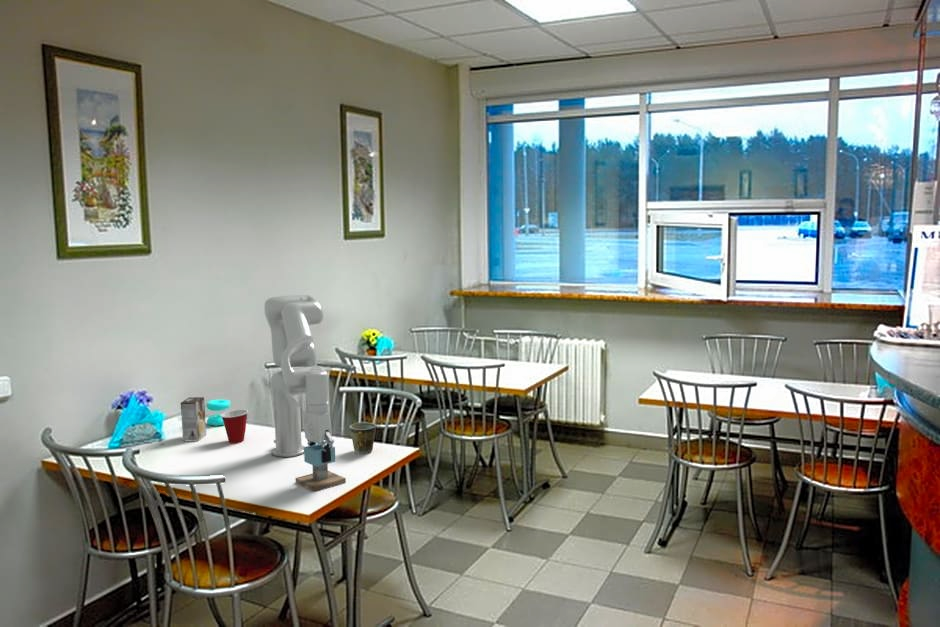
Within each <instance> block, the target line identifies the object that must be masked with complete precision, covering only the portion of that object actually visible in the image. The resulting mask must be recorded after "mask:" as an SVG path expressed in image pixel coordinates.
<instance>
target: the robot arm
mask: <svg viewBox="0 0 940 627" xmlns="http://www.w3.org/2000/svg"><path fill="white" fill-rule="evenodd" d="M263 306H264V309H263V310H264V315H265V318H266V321H267V325H268V326H269V329H270V335H271V337H270V338H271V350H272V359H273V362H274V365H275V366H276V367H279V368H280V370H279V371H276V372H275V373H274V372H273V374H272V375H271V377H270V388H271V394H272V397H273V408H274V409H273V410H274V412H273V413H274V432H275V439H273V443H274V444H275V447H274V448H273V449H272V450H271V455H272V456H275V457H280V458H291V457H297V456H301V455H304V447H305V446H304V445H303V444H302V424H301V423H302V421H301V420H302V419H301V407H300V406H301V405H300V404H299V402H298V401H297V400H296V398H294V396H296V395H304V394H305V401H306V403H305V404H306V411H305V418H304V438H305V439H306V441H307V446H311V445H315V444H321V446H322V450H323V451H322V463H326V462H330V461H331V449H332V446H333V445H334V443H335V440H334V438H333V437H332V435H333V433H332V431H333V430H332V422H331V415H330V412H331V411H330V410H331V408H330V385H329V382H330V381H329V380H330V379H329V373H328V372H327V371H326V369H325V368H324V367H323V366H320V365H318V362H317V361H318V360H317V358H318V357H317V351H316V350H317V349H316V346H315V344H314V337H313V333H312V329H311V326H313V325H320V324H322V322H323V319H324V310H323V308H322V305H321V303H320V302H319V301H318V300H317V299H315V298H314V297H313V296H312V295H309V294H295V295H278V296H271V297H269V298H267V299H266V300H265V302H264V305H263ZM296 366H302V367H296ZM292 367H293V368H292ZM324 444H327V445H326V446H325V445H324ZM333 447H334V446H333Z"/></svg>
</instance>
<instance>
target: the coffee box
mask: <svg viewBox="0 0 940 627" xmlns="http://www.w3.org/2000/svg"><path fill="white" fill-rule="evenodd" d="M205 407H206V405H205V397H204V396H203V397H202V396H201V397H200V396H199V397H198V396H195V397H191V396H190V397H188V398H186V399H184V400H183V401H182V402H180V412H181V413H180V414H181V430H182V441H183V440H199V439H200V440H201V439H203V438H204V437H205V436H207V427H206V426H207V425H206V423H207V421H206V411H205ZM203 436H204V437H203ZM202 437H203V438H202ZM200 440H199V441H200Z"/></svg>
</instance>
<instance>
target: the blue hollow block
mask: <svg viewBox="0 0 940 627" xmlns="http://www.w3.org/2000/svg"><path fill="white" fill-rule="evenodd" d="M324 445H325V446H326V445H327V443H325V444H324ZM322 451H323V450H322V446H321V444H317V443H316V444H315V445H311V446H310V445H309V446H308V445H307V446H304V453H303V458H304V461H303V462H304V463H306V464H309V465H311V466H312V467H313V466H316V467H317V466H321V465H325V464H332V463H335V462H336V447H335V446H332V449H331V461H330V462H326V463H322Z"/></svg>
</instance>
